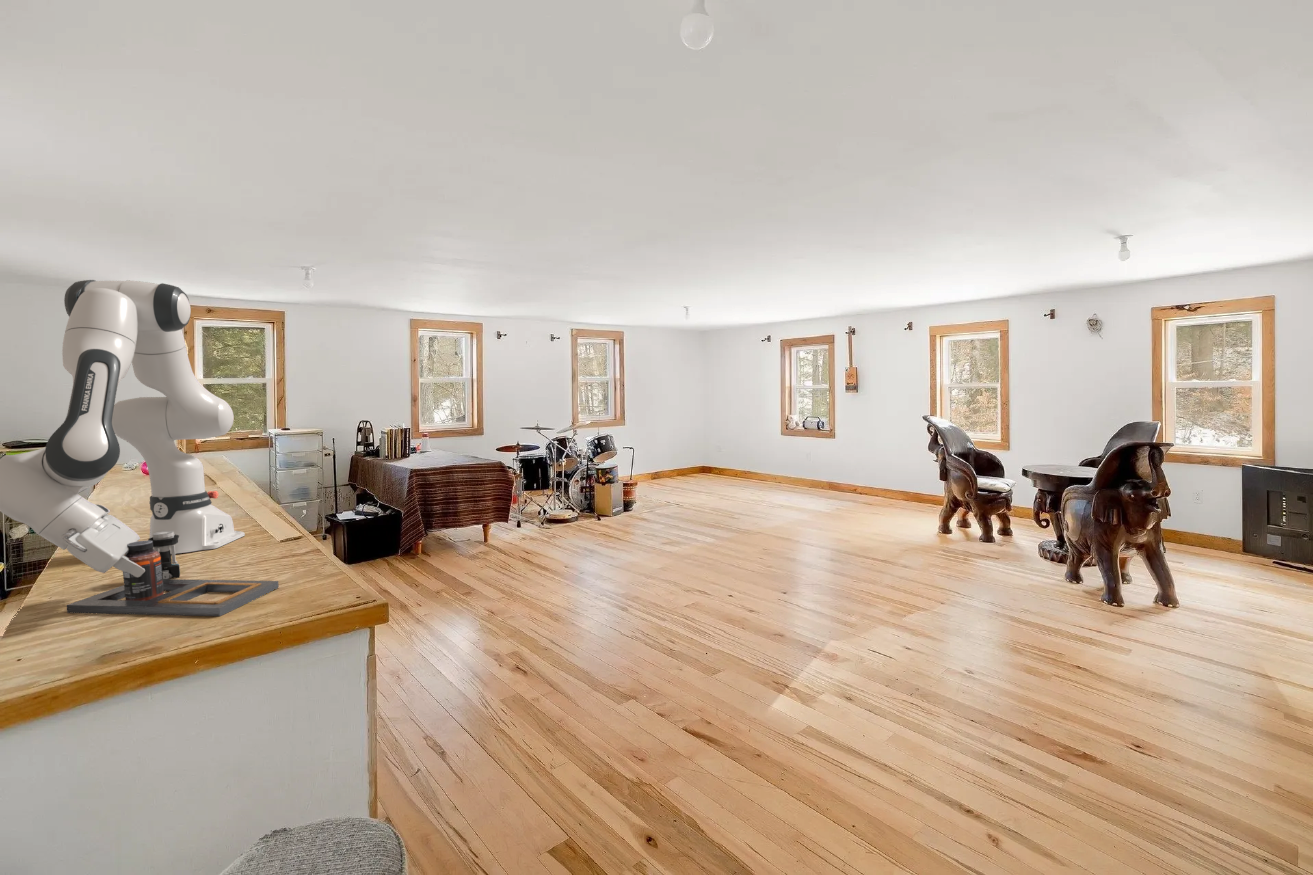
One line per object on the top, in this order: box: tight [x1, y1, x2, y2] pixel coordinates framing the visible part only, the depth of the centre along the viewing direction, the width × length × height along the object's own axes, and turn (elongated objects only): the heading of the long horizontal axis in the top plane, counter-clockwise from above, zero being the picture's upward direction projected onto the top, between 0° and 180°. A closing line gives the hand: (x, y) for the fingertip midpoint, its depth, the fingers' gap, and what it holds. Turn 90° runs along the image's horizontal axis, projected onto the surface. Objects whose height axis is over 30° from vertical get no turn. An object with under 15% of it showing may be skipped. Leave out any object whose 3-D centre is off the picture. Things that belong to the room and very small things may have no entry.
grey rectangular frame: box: [66, 578, 280, 617], centre depth 125 cm, size 16×30×2 cm, turn 85°
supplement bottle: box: [122, 539, 165, 601], centre depth 125 cm, size 6×6×11 cm
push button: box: [147, 531, 181, 579], centre depth 139 cm, size 7×5×10 cm
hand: (146, 568), depth 126 cm, fingers closed on supplement bottle, 6 cm apart
